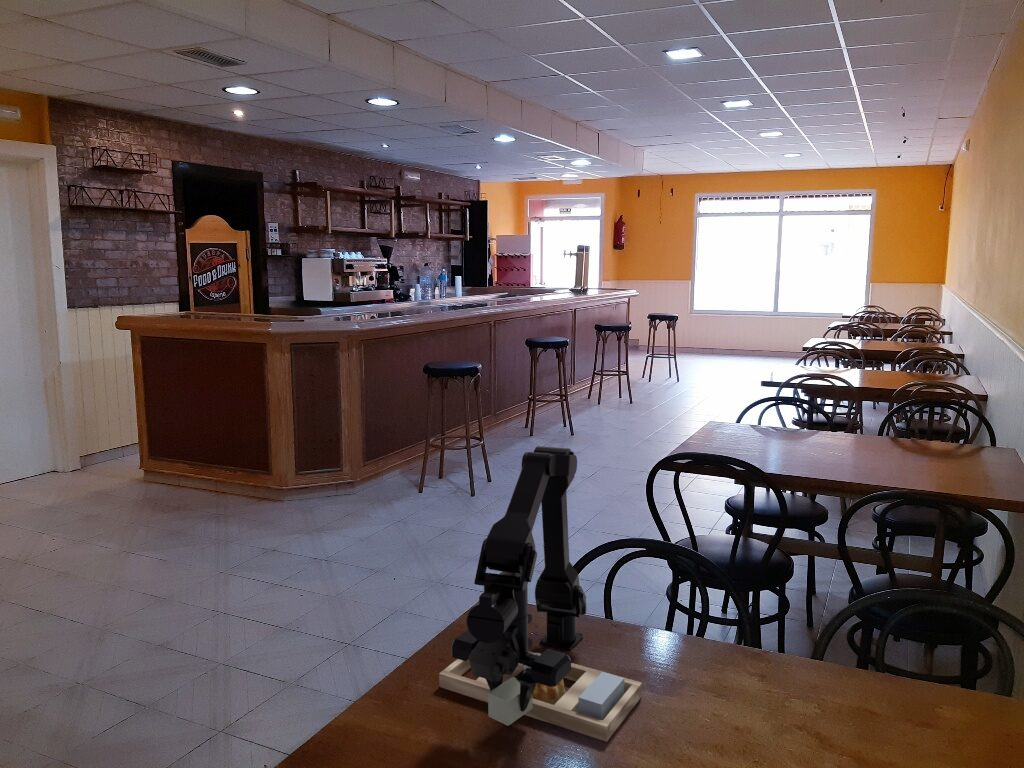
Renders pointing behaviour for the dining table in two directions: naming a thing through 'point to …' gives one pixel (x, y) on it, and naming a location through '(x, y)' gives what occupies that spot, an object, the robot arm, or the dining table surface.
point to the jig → (563, 709)
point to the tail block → (506, 702)
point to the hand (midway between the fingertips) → (510, 706)
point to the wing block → (601, 696)
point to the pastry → (549, 692)
